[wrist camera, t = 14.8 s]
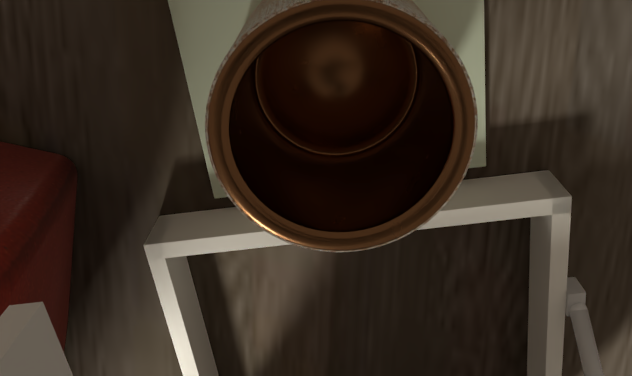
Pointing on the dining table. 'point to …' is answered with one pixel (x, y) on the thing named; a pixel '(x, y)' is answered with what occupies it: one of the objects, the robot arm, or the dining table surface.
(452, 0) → the mat
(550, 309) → the case
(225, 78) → the planter
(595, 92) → the dining table surface
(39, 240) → the plant pot
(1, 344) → the robot arm
